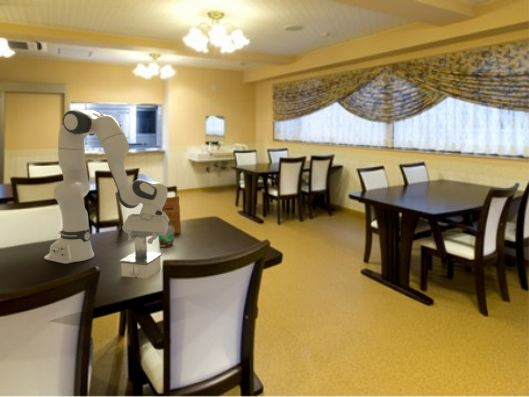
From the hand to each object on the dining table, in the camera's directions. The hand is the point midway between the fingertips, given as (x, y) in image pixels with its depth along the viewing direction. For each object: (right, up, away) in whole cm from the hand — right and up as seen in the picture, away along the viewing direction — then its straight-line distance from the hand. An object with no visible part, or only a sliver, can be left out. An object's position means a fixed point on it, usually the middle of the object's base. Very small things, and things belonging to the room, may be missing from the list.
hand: (139, 242), depth 169 cm
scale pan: (0, -7, +2) cm, 8 cm away
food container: (+3, -7, +41) cm, 42 cm away
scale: (0, -14, +3) cm, 14 cm away
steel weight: (0, -7, +2) cm, 7 cm away
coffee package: (-3, -2, +66) cm, 66 cm away
